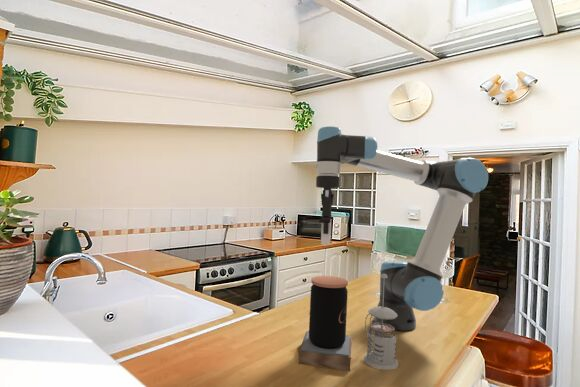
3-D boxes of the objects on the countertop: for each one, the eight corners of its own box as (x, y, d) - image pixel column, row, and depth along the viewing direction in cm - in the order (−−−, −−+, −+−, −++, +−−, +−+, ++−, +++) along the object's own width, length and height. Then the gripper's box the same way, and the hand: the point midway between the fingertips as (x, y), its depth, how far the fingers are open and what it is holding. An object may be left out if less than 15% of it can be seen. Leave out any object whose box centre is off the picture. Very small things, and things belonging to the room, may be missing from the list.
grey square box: (350, 348, 104) (351, 335, 104) (350, 371, 90) (350, 355, 90) (305, 342, 107) (306, 330, 107) (298, 363, 93) (299, 349, 93)
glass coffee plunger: (377, 372, 90) (381, 278, 91) (352, 353, 101) (356, 269, 101) (406, 366, 94) (409, 276, 94) (379, 348, 105) (382, 267, 105)
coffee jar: (344, 352, 92) (347, 286, 92) (305, 347, 94) (308, 282, 95) (345, 336, 103) (348, 277, 103) (311, 332, 105) (313, 274, 105)
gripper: (318, 177, 122) (316, 236, 122) (313, 172, 97) (311, 246, 97) (339, 178, 121) (337, 237, 120) (340, 173, 96) (338, 247, 96)
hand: (326, 241), depth 109 cm, fingers open, 13 cm apart
